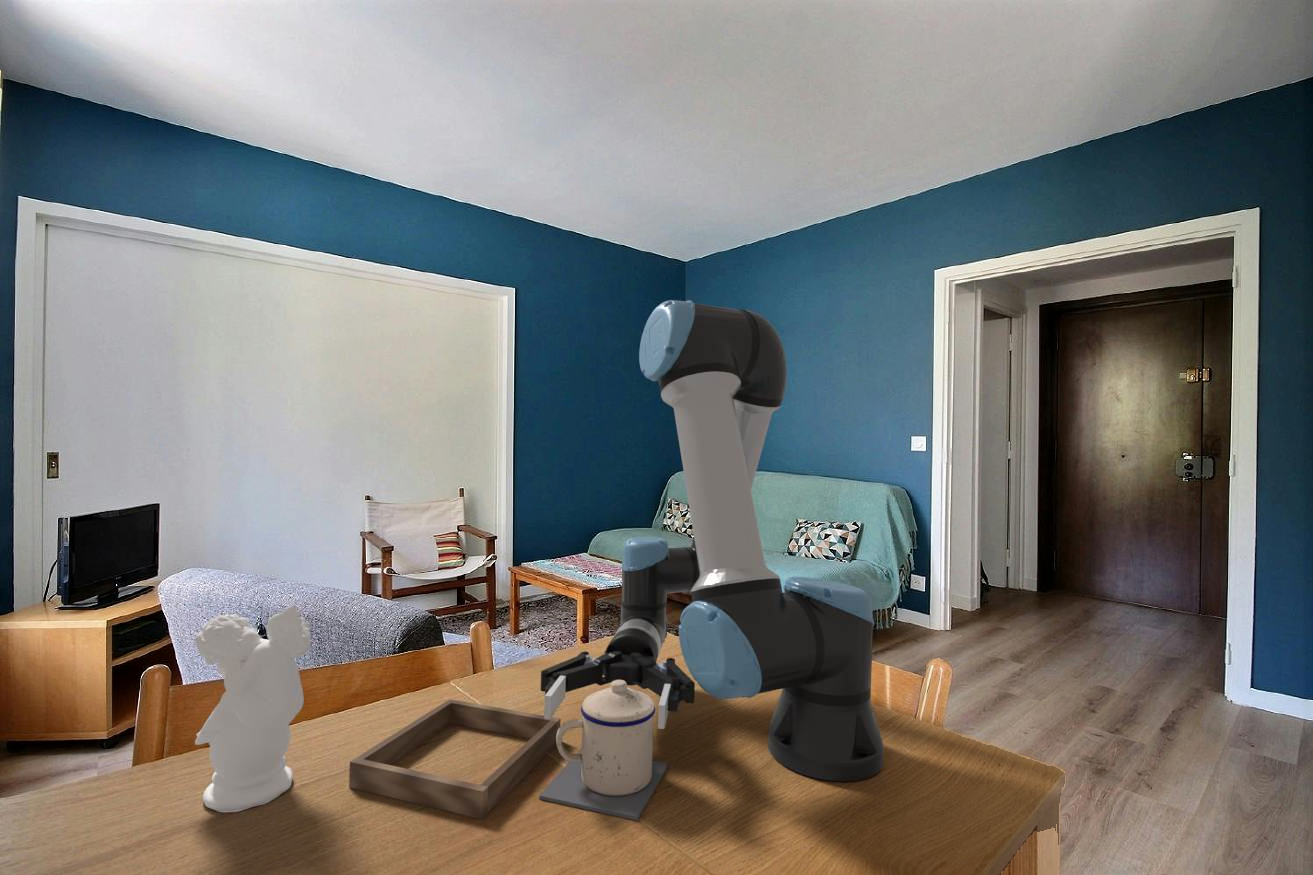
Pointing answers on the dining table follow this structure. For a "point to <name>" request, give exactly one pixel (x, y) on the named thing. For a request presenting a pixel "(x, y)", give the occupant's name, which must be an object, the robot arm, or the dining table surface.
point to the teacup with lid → (614, 740)
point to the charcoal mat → (577, 794)
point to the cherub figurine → (252, 707)
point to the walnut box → (448, 793)
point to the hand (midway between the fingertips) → (603, 712)
